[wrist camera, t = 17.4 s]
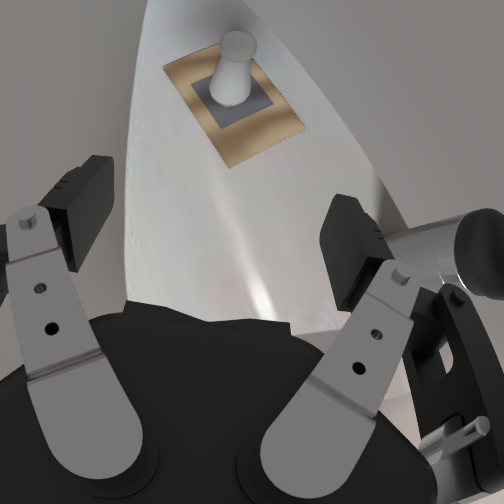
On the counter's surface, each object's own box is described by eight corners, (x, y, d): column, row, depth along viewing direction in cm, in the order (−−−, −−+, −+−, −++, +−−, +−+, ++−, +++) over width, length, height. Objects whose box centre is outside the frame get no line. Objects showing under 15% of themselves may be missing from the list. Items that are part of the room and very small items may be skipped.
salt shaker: (213, 77, 43) (219, 19, 30) (250, 84, 44) (267, 28, 31) (204, 108, 43) (208, 52, 30) (244, 116, 43) (260, 61, 31)
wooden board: (304, 129, 45) (305, 128, 45) (228, 168, 43) (229, 167, 42) (234, 39, 45) (235, 37, 45) (162, 68, 43) (162, 66, 42)
